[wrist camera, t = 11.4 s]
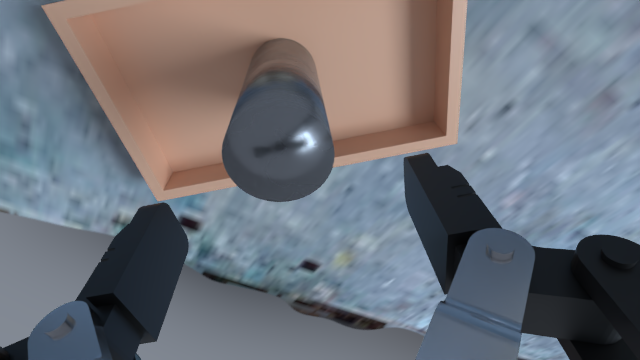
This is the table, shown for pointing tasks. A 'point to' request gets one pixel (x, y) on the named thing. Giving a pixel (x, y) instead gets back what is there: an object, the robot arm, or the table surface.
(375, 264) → the table surface
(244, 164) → the steel pin
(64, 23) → the tray
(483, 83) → the table surface
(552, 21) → the table surface
